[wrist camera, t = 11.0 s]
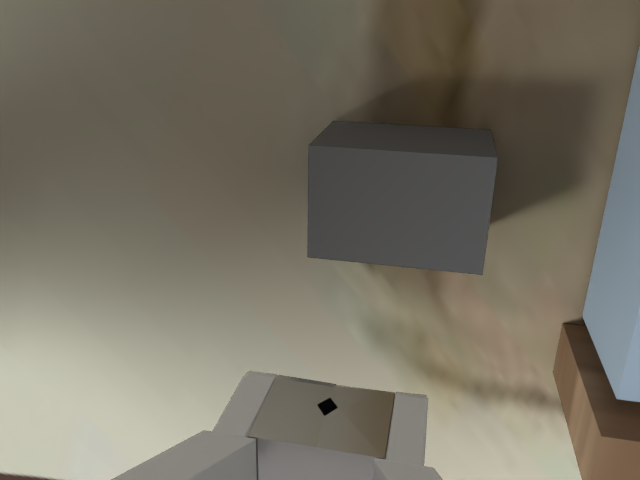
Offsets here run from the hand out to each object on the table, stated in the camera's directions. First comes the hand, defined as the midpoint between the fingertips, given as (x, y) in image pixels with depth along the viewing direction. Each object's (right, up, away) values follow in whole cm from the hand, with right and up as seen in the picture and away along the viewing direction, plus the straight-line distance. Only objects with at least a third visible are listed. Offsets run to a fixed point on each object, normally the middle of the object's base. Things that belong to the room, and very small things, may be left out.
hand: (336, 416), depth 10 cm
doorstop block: (+3, +6, +14) cm, 15 cm away
